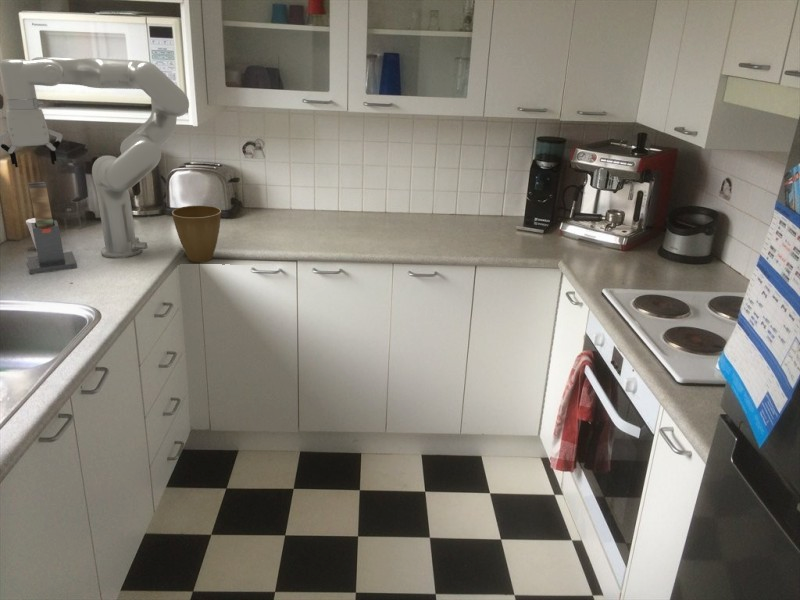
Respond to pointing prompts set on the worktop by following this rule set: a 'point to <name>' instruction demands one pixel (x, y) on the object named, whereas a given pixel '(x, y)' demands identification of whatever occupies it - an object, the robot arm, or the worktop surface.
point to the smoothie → (31, 227)
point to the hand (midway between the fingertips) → (35, 165)
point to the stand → (49, 251)
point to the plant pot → (198, 230)
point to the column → (41, 204)
